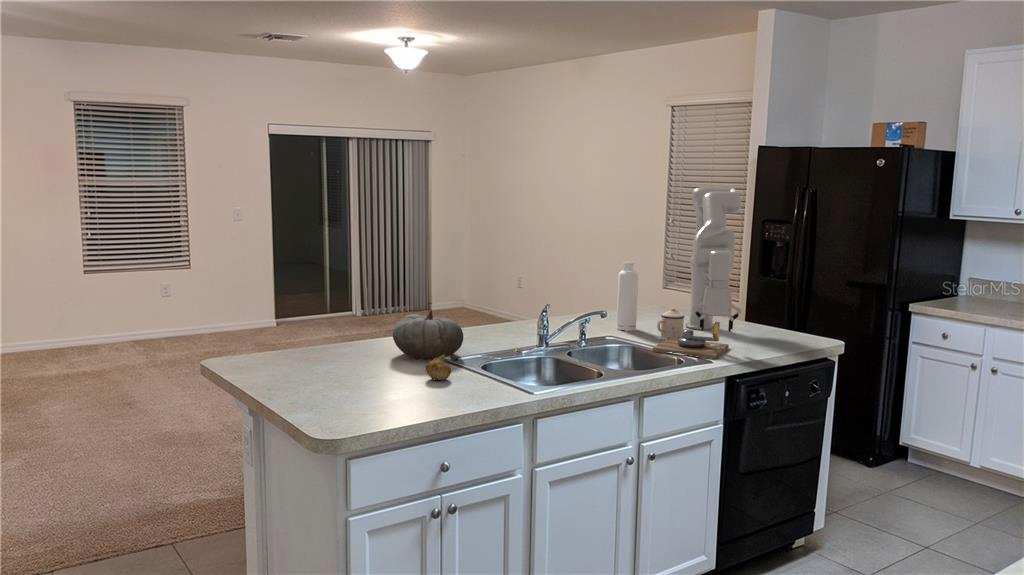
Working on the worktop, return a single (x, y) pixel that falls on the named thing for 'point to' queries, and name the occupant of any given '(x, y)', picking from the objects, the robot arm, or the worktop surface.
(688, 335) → the capstan
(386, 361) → the worktop surface
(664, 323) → the teacup with lid
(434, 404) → the worktop surface
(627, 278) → the bottle
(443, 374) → the onion
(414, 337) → the gourd
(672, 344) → the level stand
